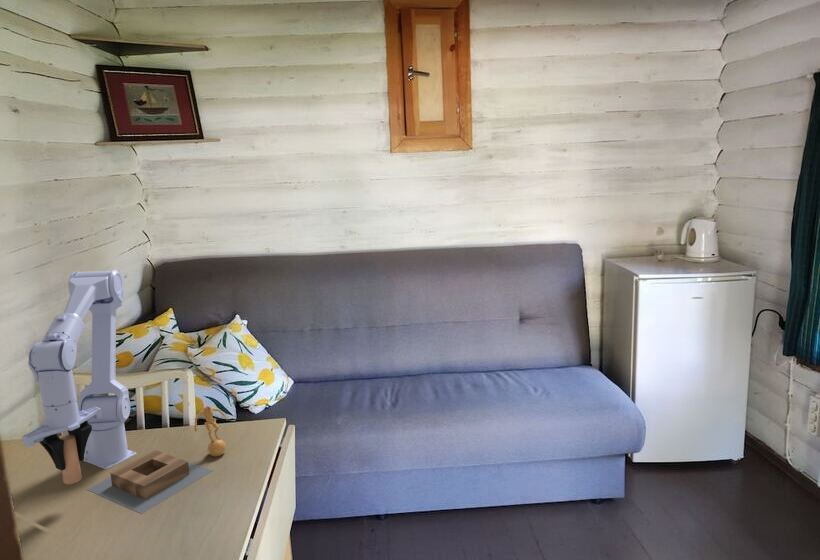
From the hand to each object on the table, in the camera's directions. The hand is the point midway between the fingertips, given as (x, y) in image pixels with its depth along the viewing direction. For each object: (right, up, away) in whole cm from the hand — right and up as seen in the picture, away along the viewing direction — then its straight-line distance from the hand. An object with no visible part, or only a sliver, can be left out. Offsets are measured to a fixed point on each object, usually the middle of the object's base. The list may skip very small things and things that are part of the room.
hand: (70, 464), depth 119 cm
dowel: (0, -3, +1) cm, 3 cm away
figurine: (+22, -4, +21) cm, 31 cm away
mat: (+12, -7, +10) cm, 17 cm away
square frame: (+12, -6, +10) cm, 17 cm away
